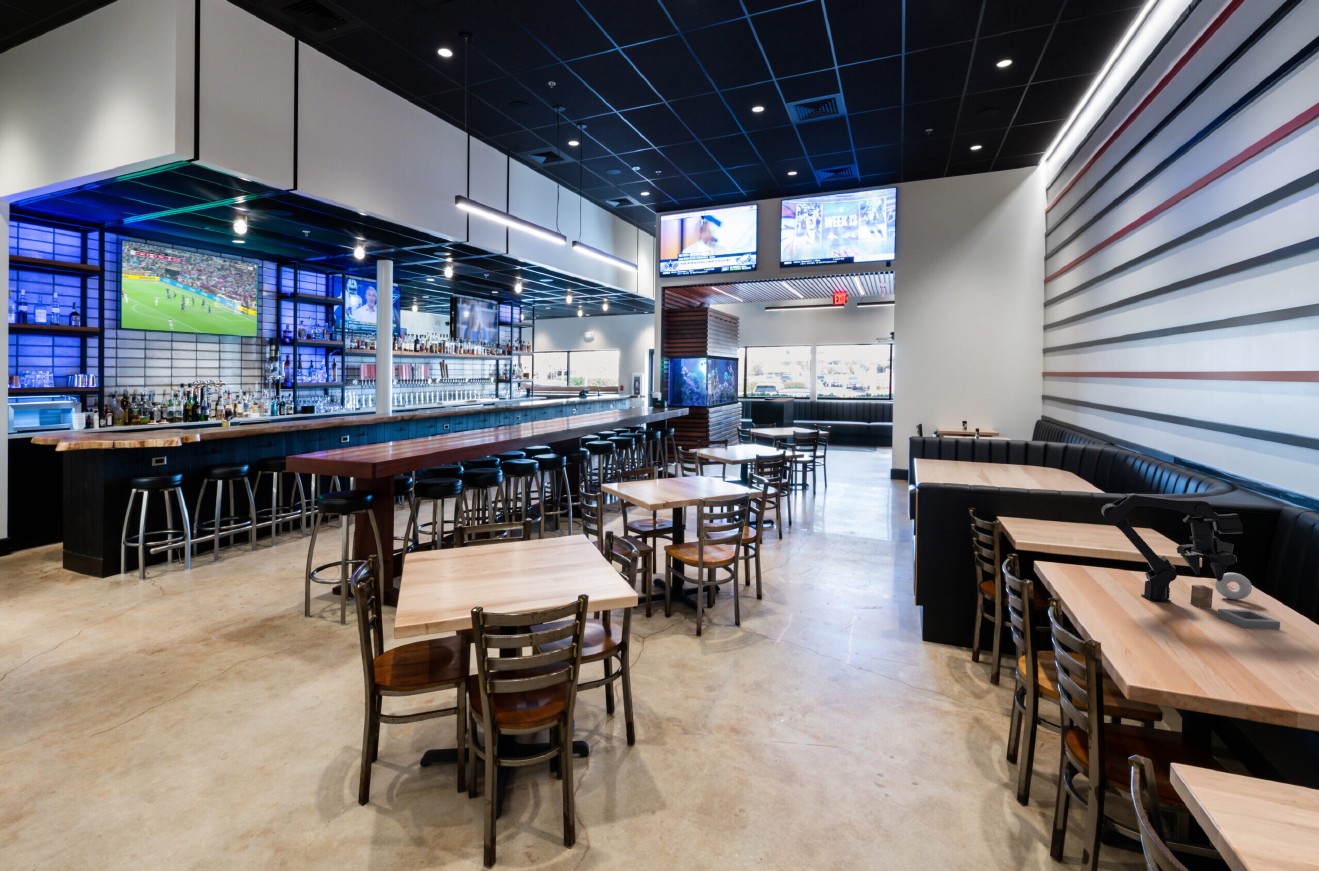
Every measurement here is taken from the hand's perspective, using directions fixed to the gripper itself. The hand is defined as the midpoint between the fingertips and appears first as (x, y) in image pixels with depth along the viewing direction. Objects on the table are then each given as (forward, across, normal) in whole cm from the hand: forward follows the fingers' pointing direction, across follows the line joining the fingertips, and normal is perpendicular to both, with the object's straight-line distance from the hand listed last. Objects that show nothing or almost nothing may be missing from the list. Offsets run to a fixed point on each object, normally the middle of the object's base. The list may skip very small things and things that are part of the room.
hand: (1208, 577), depth 214 cm
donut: (+12, +9, -14) cm, 20 cm away
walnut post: (+10, +1, +3) cm, 11 cm away
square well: (+12, -14, 0) cm, 18 cm away
